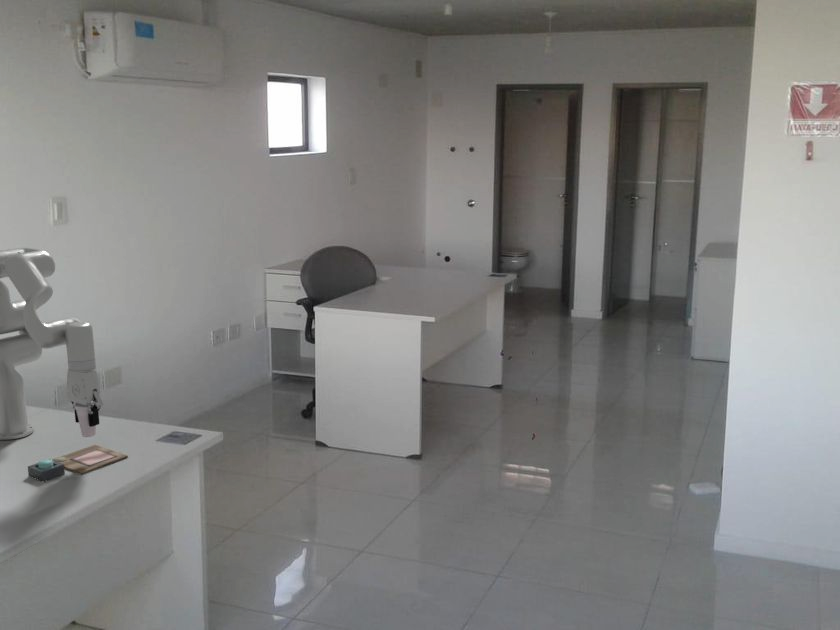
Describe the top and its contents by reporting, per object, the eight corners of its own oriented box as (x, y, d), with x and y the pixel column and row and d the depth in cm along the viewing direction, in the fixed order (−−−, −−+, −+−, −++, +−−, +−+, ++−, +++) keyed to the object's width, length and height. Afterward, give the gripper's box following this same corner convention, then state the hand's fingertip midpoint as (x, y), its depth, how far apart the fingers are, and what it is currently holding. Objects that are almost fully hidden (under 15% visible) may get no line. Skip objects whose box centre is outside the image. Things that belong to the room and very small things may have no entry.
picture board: (49, 462, 278) (48, 460, 278) (95, 446, 290) (94, 444, 290) (81, 474, 269) (81, 472, 268) (127, 457, 281) (127, 455, 281)
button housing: (28, 476, 268) (27, 466, 267) (50, 468, 273) (49, 458, 272) (42, 481, 264) (41, 471, 263) (64, 473, 269) (63, 464, 269)
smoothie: (92, 439, 273) (88, 393, 270) (73, 438, 275) (68, 392, 272) (104, 432, 280) (100, 387, 276) (84, 430, 281) (80, 386, 278)
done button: (36, 472, 268) (35, 462, 267) (48, 468, 271) (47, 458, 270) (44, 475, 265) (43, 465, 265) (56, 471, 269) (55, 461, 268)
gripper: (53, 363, 274) (59, 421, 278) (89, 372, 264) (94, 432, 268) (75, 357, 280) (80, 414, 284) (111, 366, 270) (116, 425, 274)
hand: (87, 422), depth 276 cm, fingers closed on smoothie, 5 cm apart
